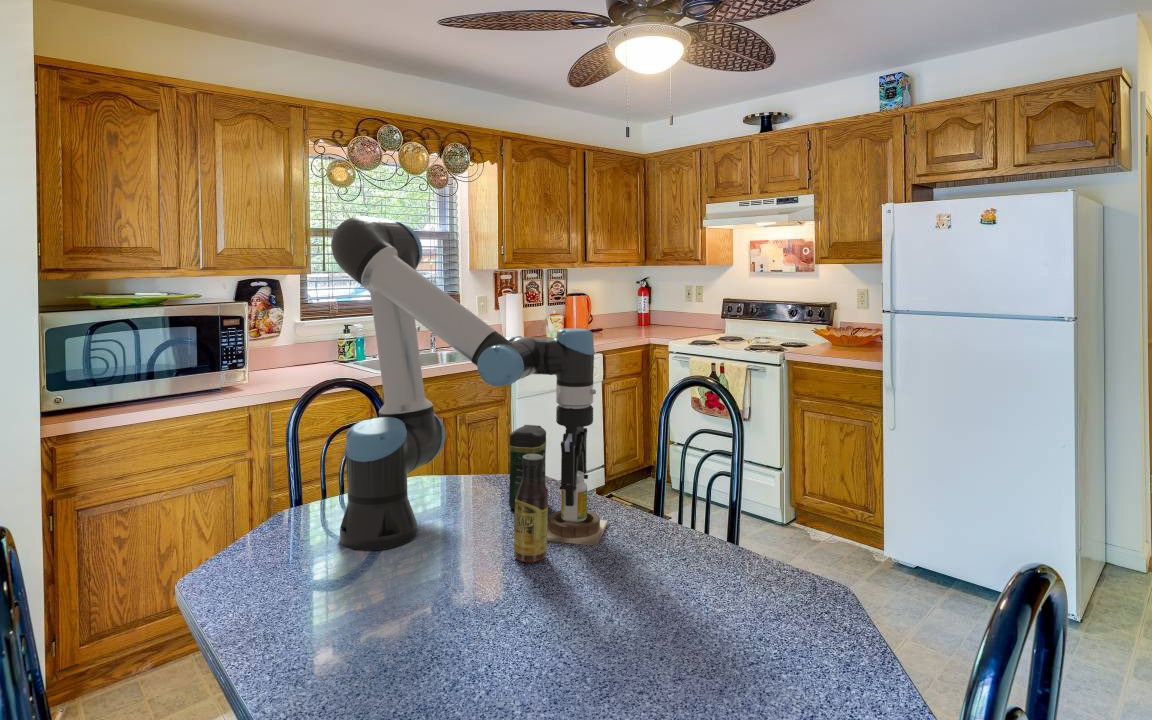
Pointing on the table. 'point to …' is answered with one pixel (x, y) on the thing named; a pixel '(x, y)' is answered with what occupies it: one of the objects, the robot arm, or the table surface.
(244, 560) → the table surface
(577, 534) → the collar
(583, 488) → the supplement bottle
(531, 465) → the sauce bottle
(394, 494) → the robot arm
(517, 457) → the coffee jar
